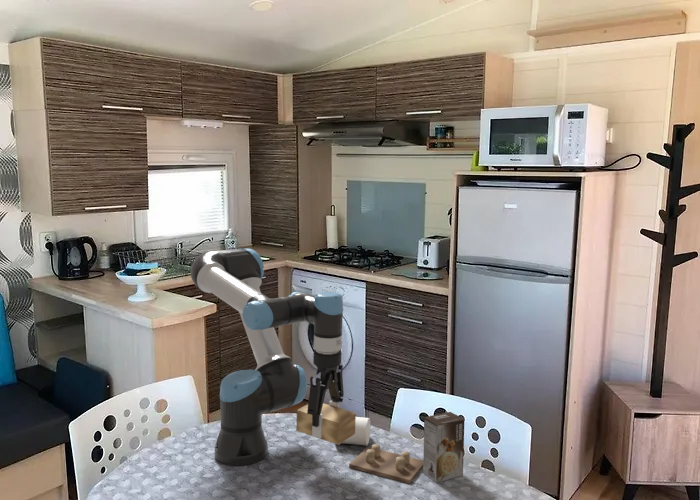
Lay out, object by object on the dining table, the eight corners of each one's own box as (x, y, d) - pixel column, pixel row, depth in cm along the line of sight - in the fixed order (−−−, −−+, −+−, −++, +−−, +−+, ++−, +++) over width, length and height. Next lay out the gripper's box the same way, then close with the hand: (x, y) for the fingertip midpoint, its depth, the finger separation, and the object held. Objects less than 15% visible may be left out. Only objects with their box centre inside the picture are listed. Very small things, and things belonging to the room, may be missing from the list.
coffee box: (449, 465, 164) (451, 410, 162) (463, 476, 158) (465, 419, 156) (421, 472, 160) (423, 416, 158) (435, 483, 154) (437, 425, 152)
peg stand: (349, 467, 162) (349, 453, 161) (368, 449, 172) (368, 437, 172) (409, 483, 154) (410, 469, 153) (425, 464, 164) (426, 450, 164)
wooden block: (296, 430, 160) (296, 409, 159) (314, 420, 167) (314, 400, 166) (338, 444, 153) (338, 423, 152) (355, 433, 159) (355, 412, 158)
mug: (365, 450, 172) (366, 424, 171) (332, 446, 174) (333, 421, 173) (372, 433, 184) (373, 408, 183) (341, 430, 186) (341, 406, 185)
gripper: (319, 363, 146) (317, 449, 149) (357, 342, 164) (355, 419, 167) (294, 358, 149) (292, 442, 152) (334, 338, 168) (332, 413, 171)
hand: (325, 430), depth 160 cm, fingers closed on wooden block, 8 cm apart
